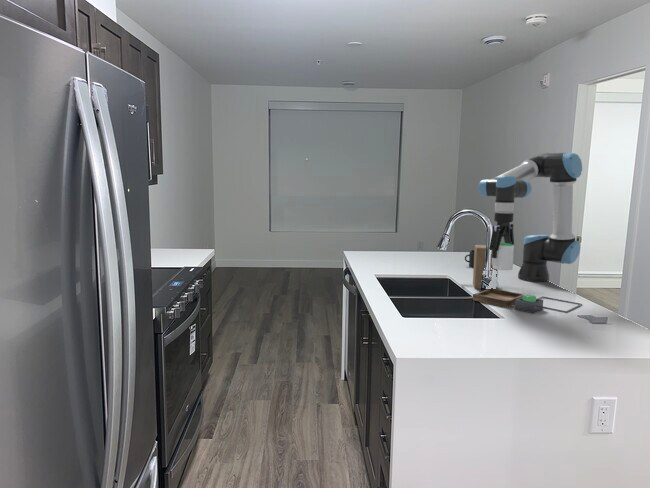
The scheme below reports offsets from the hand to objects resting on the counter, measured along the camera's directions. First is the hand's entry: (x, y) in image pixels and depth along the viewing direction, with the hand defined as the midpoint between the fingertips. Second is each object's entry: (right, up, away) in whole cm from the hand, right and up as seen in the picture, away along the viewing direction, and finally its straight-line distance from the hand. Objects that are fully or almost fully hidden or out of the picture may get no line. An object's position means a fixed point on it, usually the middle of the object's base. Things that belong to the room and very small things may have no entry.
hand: (501, 263), depth 212 cm
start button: (+7, -17, -11) cm, 22 cm away
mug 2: (0, -2, +1) cm, 2 cm away
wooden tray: (0, -16, +2) cm, 16 cm away
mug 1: (+12, -5, +78) cm, 79 cm away
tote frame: (+21, -17, -4) cm, 27 cm away
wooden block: (+2, -13, +27) cm, 30 cm away
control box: (+7, -18, -11) cm, 22 cm away
